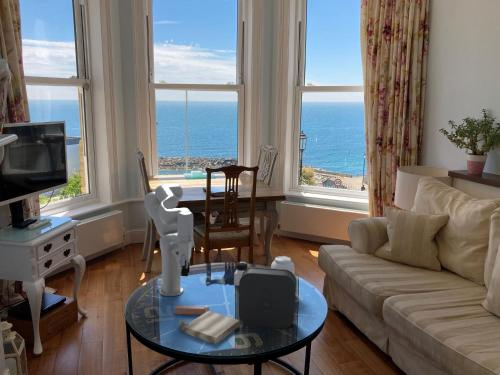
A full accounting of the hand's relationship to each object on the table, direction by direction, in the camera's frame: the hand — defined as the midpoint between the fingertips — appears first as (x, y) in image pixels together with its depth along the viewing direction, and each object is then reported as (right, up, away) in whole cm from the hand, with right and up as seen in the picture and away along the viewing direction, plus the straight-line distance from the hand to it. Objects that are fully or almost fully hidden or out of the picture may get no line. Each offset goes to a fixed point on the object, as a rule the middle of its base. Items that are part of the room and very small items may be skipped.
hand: (185, 273), depth 211 cm
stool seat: (+13, -21, -17) cm, 30 cm away
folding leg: (+4, -18, -3) cm, 19 cm away
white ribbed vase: (+48, -15, +21) cm, 54 cm away
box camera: (+26, -12, +34) cm, 45 cm away
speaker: (+39, -21, -11) cm, 45 cm away
